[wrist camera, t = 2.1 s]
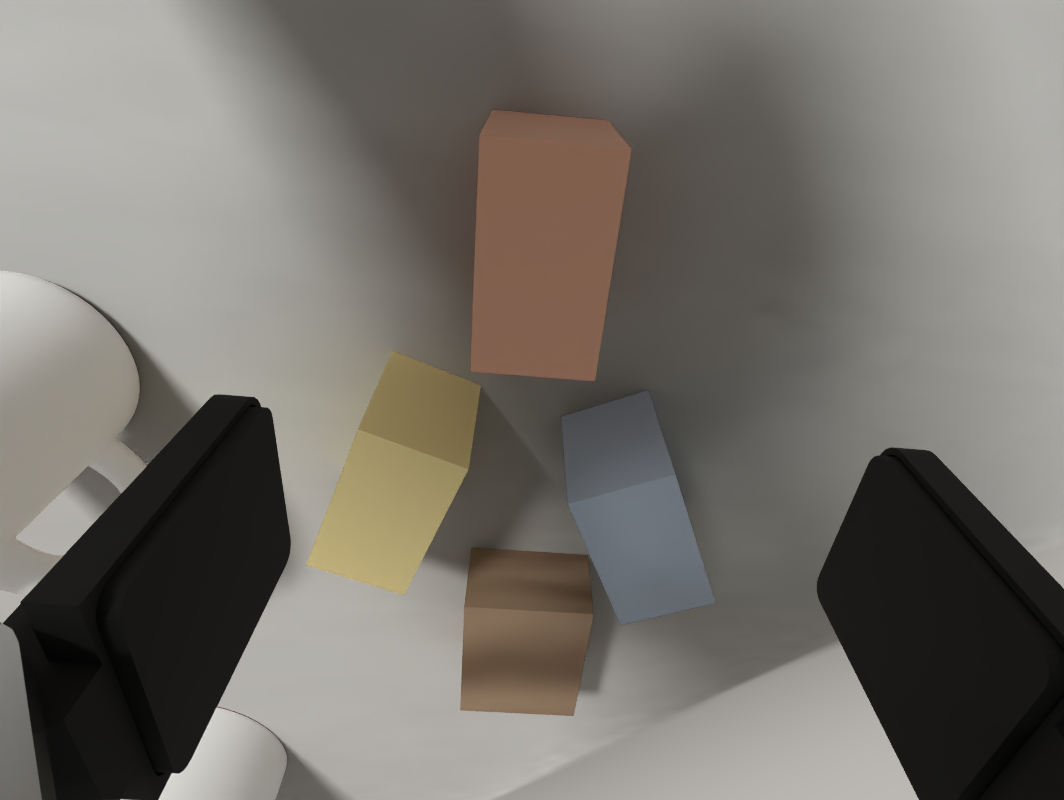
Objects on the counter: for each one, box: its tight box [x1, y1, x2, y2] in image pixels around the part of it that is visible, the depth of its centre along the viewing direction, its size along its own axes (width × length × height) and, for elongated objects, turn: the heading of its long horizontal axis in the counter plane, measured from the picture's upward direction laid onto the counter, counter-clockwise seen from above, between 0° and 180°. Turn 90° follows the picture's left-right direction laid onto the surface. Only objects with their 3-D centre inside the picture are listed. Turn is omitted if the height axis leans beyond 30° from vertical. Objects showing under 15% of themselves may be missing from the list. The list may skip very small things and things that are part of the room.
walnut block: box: [460, 548, 594, 716], centre depth 32 cm, size 8×6×4 cm
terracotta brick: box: [470, 110, 632, 381], centre depth 20 cm, size 7×4×6 cm, turn 175°
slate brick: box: [561, 390, 715, 625], centre depth 26 cm, size 7×4×6 cm, turn 20°
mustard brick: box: [306, 351, 481, 595], centre depth 25 cm, size 7×4×6 cm, turn 155°
